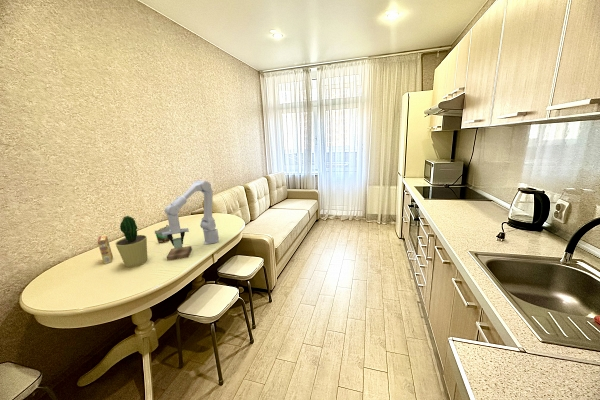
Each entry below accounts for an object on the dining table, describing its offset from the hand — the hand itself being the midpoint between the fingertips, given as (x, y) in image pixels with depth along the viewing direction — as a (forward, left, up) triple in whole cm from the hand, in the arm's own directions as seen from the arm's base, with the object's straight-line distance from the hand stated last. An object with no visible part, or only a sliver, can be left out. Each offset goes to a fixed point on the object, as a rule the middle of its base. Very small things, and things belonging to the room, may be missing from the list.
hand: (178, 244), depth 151 cm
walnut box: (0, 0, -8) cm, 8 cm away
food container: (+15, -29, -7) cm, 33 cm away
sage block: (0, 0, -2) cm, 2 cm away
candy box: (+43, -7, -7) cm, 44 cm away
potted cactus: (+24, +2, -7) cm, 25 cm away
